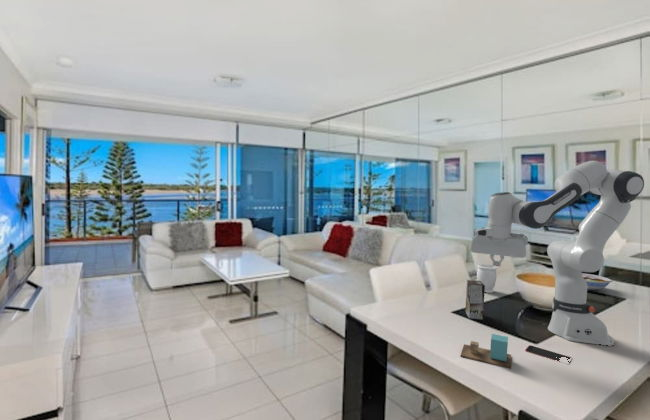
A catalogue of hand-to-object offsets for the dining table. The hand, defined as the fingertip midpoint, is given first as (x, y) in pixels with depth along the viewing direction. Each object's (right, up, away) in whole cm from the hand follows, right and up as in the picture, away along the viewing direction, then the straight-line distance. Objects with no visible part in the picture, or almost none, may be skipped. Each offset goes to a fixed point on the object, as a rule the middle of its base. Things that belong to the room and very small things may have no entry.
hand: (496, 265), depth 143 cm
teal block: (-9, -29, -19) cm, 36 cm away
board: (-12, -30, -17) cm, 36 cm away
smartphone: (+12, -31, -14) cm, 36 cm away
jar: (+26, -26, +65) cm, 74 cm away
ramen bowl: (+94, -27, +76) cm, 124 cm away
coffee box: (+1, -28, +24) cm, 37 cm away
